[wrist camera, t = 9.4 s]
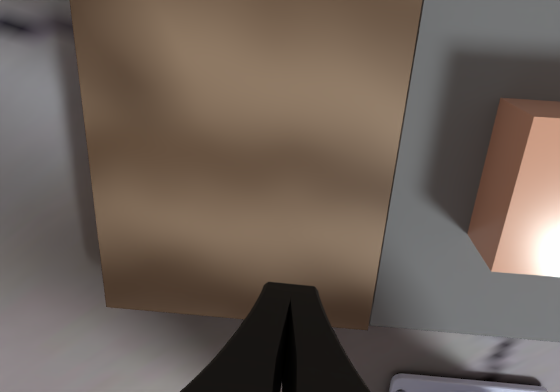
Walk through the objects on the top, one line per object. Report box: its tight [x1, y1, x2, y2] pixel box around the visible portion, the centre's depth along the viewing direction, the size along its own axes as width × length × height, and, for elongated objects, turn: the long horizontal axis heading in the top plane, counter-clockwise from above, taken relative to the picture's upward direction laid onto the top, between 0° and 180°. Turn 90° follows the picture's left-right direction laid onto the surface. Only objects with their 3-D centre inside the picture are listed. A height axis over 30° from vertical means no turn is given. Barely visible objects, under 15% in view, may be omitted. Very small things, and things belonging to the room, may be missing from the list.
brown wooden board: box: [70, 0, 422, 330], centre depth 19 cm, size 14×12×2 cm
